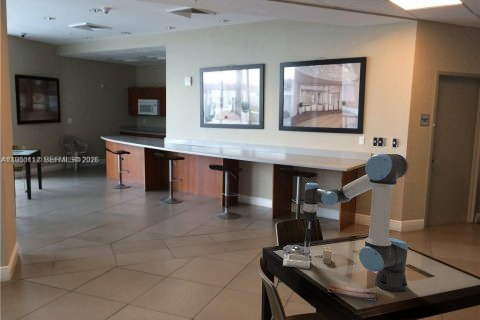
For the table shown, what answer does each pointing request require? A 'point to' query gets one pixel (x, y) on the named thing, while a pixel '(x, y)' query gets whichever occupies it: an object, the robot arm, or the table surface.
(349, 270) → the table surface
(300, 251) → the sprocket
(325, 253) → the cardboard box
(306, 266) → the base plate
